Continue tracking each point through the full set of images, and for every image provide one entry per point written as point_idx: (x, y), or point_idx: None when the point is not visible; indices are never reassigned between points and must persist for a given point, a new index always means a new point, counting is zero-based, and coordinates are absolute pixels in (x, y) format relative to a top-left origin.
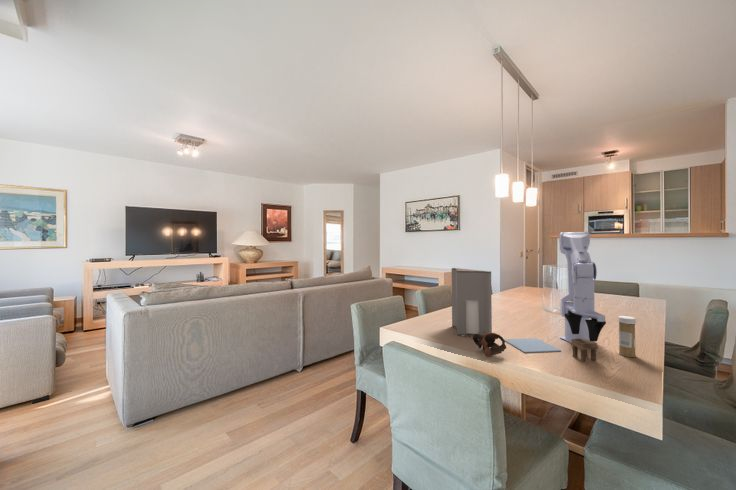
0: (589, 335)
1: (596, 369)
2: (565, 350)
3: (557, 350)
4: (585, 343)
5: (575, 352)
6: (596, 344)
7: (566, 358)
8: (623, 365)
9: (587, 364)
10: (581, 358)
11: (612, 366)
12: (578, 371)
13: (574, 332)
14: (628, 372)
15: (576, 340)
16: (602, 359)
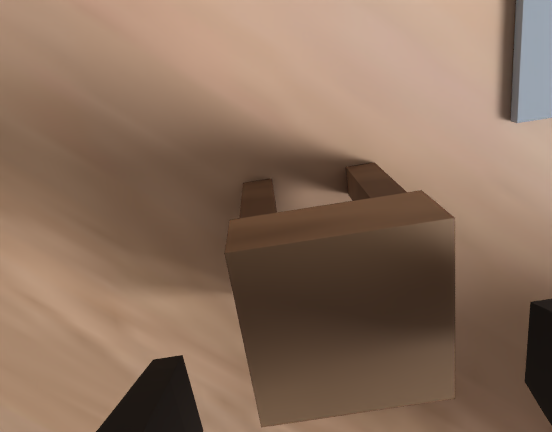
0: (140, 414)
1: (62, 184)
2: (527, 182)
3: (519, 79)
4: (239, 290)
5: (356, 185)
6: (261, 407)
7: (319, 60)
8: None
9: (173, 176)
10: (265, 184)
11: (154, 343)
12: None
13: (548, 336)
14: (50, 377)
15: (378, 245)
16: None
